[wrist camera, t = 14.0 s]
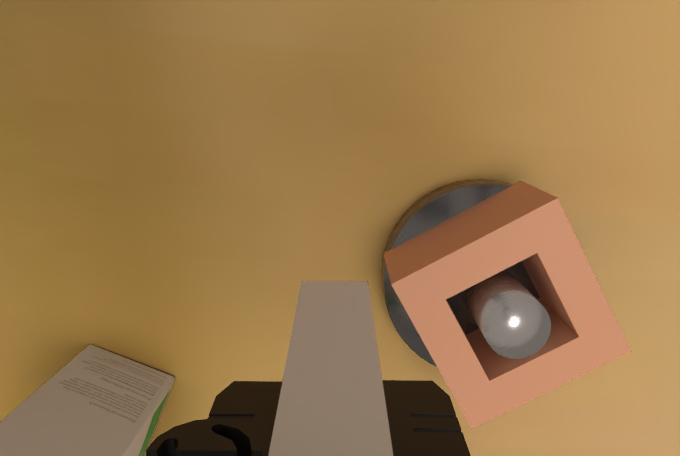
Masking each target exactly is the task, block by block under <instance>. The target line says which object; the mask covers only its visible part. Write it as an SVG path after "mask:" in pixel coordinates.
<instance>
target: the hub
mask: <svg viewBox="0 0 680 456" xmlns="http://www.w3.org/2000/svg"><path fill="white" fill-rule="evenodd" d="M511 186H512V185H510V184H508V183H504V182H500V181H495V180H484V179H477V180H465V181H460V182H455V183H452V184H449V185H445V186H443V187H441V188H438V189H436V190H434V191H432V192H430V193H429V194H427V195H426V196H424V197H422V198H421V199H420V200H419V201H417V202H416V203H415V204H414V205H412V206H411V207H410V209H409V210H408V211H407V212H406V213H405V214H404V215H403V216H402V218H401V219H400V220H399V222H398V223H397V224H396V226H395V228H394V230H393V231H392V233H391V235H390V237H389V240H388V243H387V245H386V248H385V252H387V251H389V250H391V249H393V248H395V247H397V246H399V245H401V244H403V243H404V242H406V241H408V240H410V239H412V238H414V237H416V236H418V235H420V234H421V233H423V232H425V231H427V230H429V229H431V228H433V227H435V226H437V225H439V224H440V223H442V222H444V221H446V220H448V219H450V218H452V217H454V216H456V215H457V214H459V213H461V212H463V211H465V210H467V209H469V208H471V207H473V206H475V205H476V204H478V203H480V202H482V201H484V200H486V199H488V198H490V197H492V196H494V195H495V194H497V193H499V192H501V191H503V190H505V189H507V188H509V187H511ZM385 252H384V253H385ZM382 284H383V289H384V295H385V300H386V305H387V308H388V312H389V315H390V318H391V320H392V322H393V324H394V326H395V328H396V330H397V332H398V333H399V335H400V336H401V338H402V339H403V340H404V342H405V343H406V344H407V345H408V346H409V347H410V348H411V349H412V350H413V351H414V352H415V353H416V354H417V355H419V356H420V357H421V358H423V359H424V360H426V361H427V362H429V363H431V364H433V365H435V366H436V364H435V362H434V360H433V359H432V357H431V355H430V353H429V351H428V350H427V348H426V346H425V344H424V342H423V341H422V339H421V337H420V335H419V333H418V332H417V330H416V328H415V326H414V324H413V323H412V321H411V319H410V317H409V315H408V314H407V312H406V310H405V308H404V306H403V305H402V303H401V301H400V299H399V298H398V296H397V294H396V292H395V290H394V289H393V287H392V285H391V282H390V278H389V274H388V270H387V266H386V262H385V258H384V257H383V264H382ZM539 298H540V296H539V294H538V292H537V290H536V288H535V286H534V284H533V282H532V281H531V279H530V277H529V275H528V273H527V271H526V269H525V267H524V265H523V263H522V261H520V262H518V263H516V264H515V265H513V266H511V267H509V268H507V269H505V270H503V271H501V272H499V273H497V274H495V275H493V276H491V277H489V278H487V279H485V280H483V281H481V282H479V283H477V284H475V285H473V286H471V287H470V288H468V289H466V290H464V291H462V292H460V293H458V294H456V295H454V296H452V297H450V298H448V299H447V301H448V303H449V305H450V307H451V309H452V310H453V312H454V314H455V316H456V318H457V320H458V322H459V323H460V325H461V327H462V329H463V331H464V333H465V335H467V334H469V333H471V332H473V331H475V330H477V329H480V330H481V332H482V334H483V335H484V337H485V339H486V340H487V342H488V344H489V345H490V347H491V348H492V349H493V350H494V351H495V352H496V353H498V354H499V355H501V356H503V357H506V358H511V359H521V358H526V357H529V356H531V355H533V354H535V353H536V352H538V351H539V350H540V349H541V348H542V347H543V346H544V345H545V343H546V342H547V340H548V338H549V335H550V331H551V320H550V317H549V314H548V312H547V311H546V309H545V308H544V307H543V306H542V305H541V304H540V303H539V301H538V300H537V299H539Z"/></svg>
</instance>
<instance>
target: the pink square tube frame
mask: <svg viewBox="0 0 680 456" xmlns="http://www.w3.org/2000/svg"><path fill="white" fill-rule="evenodd" d="M384 258H385V262H386V266H387V270H388V274H389V278H390V282H391V285H392V287H393V289H394V290H395V292H396V294H397V296H398V298H399V299H400V301H401V303H402V305H403V306H404V308H405V310H406V312H407V314H408V315H409V317H410V319H411V321H412V323H413V324H414V326H415V328H416V330H417V332H418V333H419V335H420V337H421V339H422V341H423V342H424V344H425V346H426V348H427V350H428V351H429V353H430V355H431V357H432V359H433V360H434V362H435V364H436V366H437V367H438V369H439V371H440V373H441V375H442V376H443V378H444V380H445V382H446V384H447V385H448V387H449V389H450V391H451V393H452V394H453V396H454V398H455V400H456V402H457V403H458V405H459V407H460V409H461V411H462V412H463V414H464V416H465V418H466V420H467V421H468V423H469V425H470V427H471V429H472V428H474V427H476V426H478V425H481V424H483V423H485V422H487V421H489V420H491V419H493V418H495V417H497V416H499V415H501V414H503V413H505V412H508V411H510V410H512V409H514V408H516V407H518V406H520V405H522V404H524V403H526V402H528V401H530V400H532V399H535V398H537V397H539V396H541V395H543V394H545V393H547V392H549V391H551V390H553V389H555V388H557V387H559V386H562V385H564V384H566V383H568V382H570V381H572V380H574V379H576V378H578V377H580V376H582V375H584V374H586V373H589V372H591V371H593V370H595V369H597V368H599V367H601V366H603V365H605V364H607V363H609V362H611V361H613V360H616V359H618V358H620V357H622V356H624V355H626V354H628V353H630V352H631V349H630V347H629V345H628V343H627V341H626V339H625V337H624V335H623V333H622V331H621V329H620V327H619V324H618V322H617V320H616V318H615V316H614V314H613V312H612V310H611V308H610V306H609V304H608V302H607V299H606V297H605V295H604V293H603V291H602V289H601V287H600V285H599V283H598V281H597V279H596V277H595V274H594V272H593V270H592V268H591V266H590V264H589V262H588V260H587V258H586V256H585V254H584V252H583V249H582V247H581V245H580V243H579V241H578V239H577V237H576V235H575V233H574V231H573V229H572V227H571V224H570V222H569V220H568V218H567V216H566V214H565V212H564V210H563V208H562V206H561V204H560V202H559V199H558V198H557V197H555V196H552V195H550V194H548V193H546V192H544V191H542V190H539V189H537V188H535V187H533V186H531V185H528V184H526V183H524V182H522V181H520V182H518V183H516V184H514V185H512V186H511V187H509V188H507V189H505V190H503V191H501V192H499V193H497V194H495V195H494V196H492V197H490V198H488V199H486V200H484V201H482V202H480V203H478V204H476V205H475V206H473V207H471V208H469V209H467V210H465V211H463V212H461V213H459V214H457V215H456V216H454V217H452V218H450V219H448V220H446V221H444V222H442V223H440V224H439V225H437V226H435V227H433V228H431V229H429V230H427V231H425V232H423V233H421V234H420V235H418V236H416V237H414V238H412V239H410V240H408V241H406V242H404V243H403V244H401V245H399V246H397V247H395V248H393V249H391V250H389V251H387V252H385V253H384ZM520 261H522V263H523V265H524V267H525V269H526V271H527V273H528V275H529V277H530V279H531V281H532V282H533V284H534V286H535V288H536V290H537V292H538V294H539V296H540V298H539V299H537V300H538V301H539V303H540V304H541V305H542V306H543V307H544V308H545V309H546V311H547V312H548V314H549V317H550V320H551V331H550V335H549V338H548V340H547V342H546V343H545V345H544V346H543V347H542V348H541V349H540V350H539V351H538V352H536V353H535V354H533V355H531V356H529V357H526V358H521V359H511V358H506V357H503V356H501V355H499V354H498V353H496V352H495V351H494V350H493V349H492V348H491V347H490V345H489V344H488V342H487V340H486V339H485V337H484V335H483V334H482V332H481V330H480V329H477V330H475V331H473V332H471V333H469V334H467V335H465V333H464V331H463V329H462V327H461V325H460V323H459V322H458V320H457V318H456V316H455V314H454V312H453V310H452V309H451V307H450V305H449V303H448V301H447V299H448V298H450V297H452V296H454V295H456V294H458V293H460V292H462V291H464V290H466V289H468V288H470V287H471V286H473V285H475V284H477V283H479V282H481V281H483V280H485V279H487V278H489V277H491V276H493V275H495V274H497V273H499V272H501V271H503V270H505V269H507V268H509V267H511V266H513V265H515V264H516V263H518V262H520Z"/></svg>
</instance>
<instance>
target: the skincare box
mask: <svg viewBox="0 0 680 456" xmlns="http://www.w3.org/2000/svg"><path fill="white" fill-rule="evenodd" d="M174 380H175V378H174V377H173V376H171V375H168V374H166V373H163V372H161V371H158V370H156V369H153V368H150V367H148V366H145V365H143V364H140V363H138V362H135V361H132V360H130V359H127V358H125V357H122V356H120V355H117V354H115V353H112V352H110V351H107V350H105V349H102V348H99V347H97V346H95V345H92V344H89V345H88V346H87V347H86V348H85V349H84V350H82V351H81V352H80V353H79V354H78V355H77V356H76V357H74V358H73V359H72V360H71V361H70V362H69V363H68V364H67V365H65V366H64V367H63V368H62V369H61V370H60V371H58V372H57V373H56V374H55V375H54V376H53V377H51V378H50V379H49V380H48V381H47V382H46V383H44V384H43V385H42V386H41V387H40V388H39V389H37V390H36V391H35V392H34V393H33V394H32V395H31V396H29V397H28V398H27V399H26V400H25V401H24V402H22V403H21V404H20V405H19V406H18V407H17V408H15V409H14V410H13V411H12V412H11V413H10V414H8V415H7V416H6V417H5V418H4V419H3V420H2V421H0V456H145V454H146V449H147V448H148V446H149V444H150V441H151V439H152V436H153V433H154V431H155V428H156V426H157V423H158V420H159V418H160V415H161V413H162V410H163V407H164V405H165V402H166V400H167V397H168V395H169V392H170V390H171V388H172V385H173V383H174Z"/></svg>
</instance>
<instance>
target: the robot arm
mask: <svg viewBox="0 0 680 456" xmlns="http://www.w3.org/2000/svg"><path fill="white" fill-rule="evenodd" d="M146 456H470V453H469V450H468V447H467V444H466V442H465V439H464V436H463V433H461V427H460V425H459V422H458V419H457V417H456V413H455V411H454V408H453V405H452V402H451V399H450V396H449V395H448V394H447V393H445V392H444V391H443V390H442V389H441V388H440V387H439V386H438V385H436V384H435V383H434V382H433V381H395V380H382V375H381V368H380V361H379V354H378V347H377V340H376V334H375V327H374V320H373V313H372V306H371V299H370V293H369V286H368V281H302V283H301V288H300V293H299V298H298V304H297V309H296V314H295V319H294V324H293V330H292V335H291V340H290V345H289V350H288V356H287V361H286V366H285V371H284V376H283V382H259V381H234V382H232V383H231V384H230V385H229V386H228V387H227V388H225V389H224V390H223V391H222V392H221V393H219V394H218V395H217V396H216V398H215V401H214V403H213V406H212V408H211V411H210V413H209V418H207V419H205V420H195V421H191V422H188V423H185V424H182V425H179V426H176V427H173V428H172V429H170V430H168V431H167V432H165V433H163V434H161V435H160V436H158V437H157V438H156V439H155V440H154V441H153V442H152V444H151V445H150V446H149V447H148V448H147V449H146Z"/></svg>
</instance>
